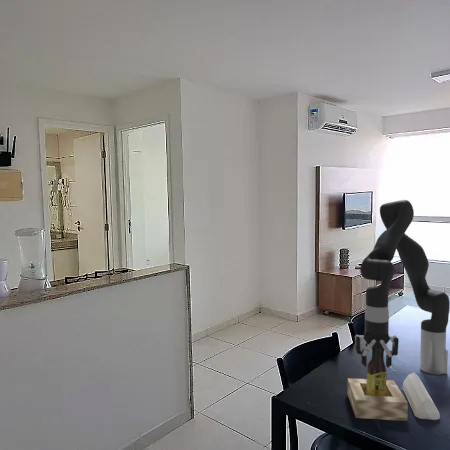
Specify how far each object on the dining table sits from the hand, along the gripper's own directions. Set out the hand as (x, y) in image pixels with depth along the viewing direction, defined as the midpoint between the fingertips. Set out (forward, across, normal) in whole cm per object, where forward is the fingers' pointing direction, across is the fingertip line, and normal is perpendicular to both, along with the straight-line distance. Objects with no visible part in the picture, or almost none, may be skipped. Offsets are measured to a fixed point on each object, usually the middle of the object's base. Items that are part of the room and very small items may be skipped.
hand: (376, 366), depth 137 cm
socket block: (+14, 0, 0) cm, 14 cm away
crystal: (+15, -16, -4) cm, 22 cm away
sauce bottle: (+13, 0, 0) cm, 13 cm away
